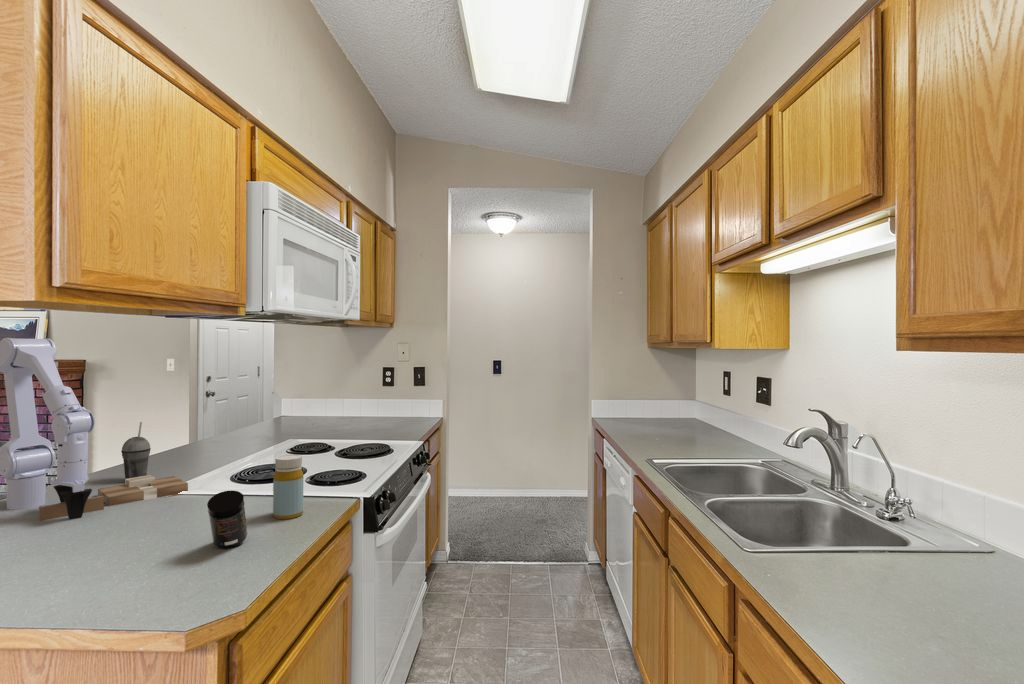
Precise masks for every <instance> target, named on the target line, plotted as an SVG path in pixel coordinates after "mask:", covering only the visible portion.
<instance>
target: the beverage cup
mask: <svg viewBox="0 0 1024 684" xmlns="http://www.w3.org/2000/svg"><path fill="white" fill-rule="evenodd" d="M142 426H143V422H142V421H140V422H139V427H138V428H139V429H138V435H137V436H133V437H130V438H128V439H127V440H126V441H125V442H124V443H123V445H122V447H121V456H122V459H123V469H124V480H125V479H129V478H135V477H141V476H147V474H148V465H149V458H150V453H151V450H152V448H151V445H150V442H149V441H148V440H147V439H146V438H145V437H142V436H141V431H142Z"/></svg>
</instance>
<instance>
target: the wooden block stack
mask: <svg viewBox="0 0 1024 684" xmlns="http://www.w3.org/2000/svg"><path fill="white" fill-rule="evenodd" d="M182 491H188V492H189V483H188V482H187V481H185V480H182V479H181V478H178V477H177V476H174V475H173V476H166V477H161V478H156V477H155V476H153V475H151V474H149V475H147V476H141V477H135V478H129V479H125V478H124V484H120V485H113V486H107V487H102V488H98V489H97V496H104V504H106V505H108V507H111V506H118V505H124V504H130V503H134V502H139V501H140V502H141V501H145V500H151V499H157V498H162V497H164V499H165V498H171V497H177V496H181V495H184V494H178V493H180V492H182Z"/></svg>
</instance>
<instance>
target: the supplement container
mask: <svg viewBox="0 0 1024 684" xmlns="http://www.w3.org/2000/svg"><path fill="white" fill-rule="evenodd" d="M207 513H208V517H209V524H210V525H209V526H210V530H211V537H212V544H213V545H214V546H215V547H216V548H217V549H221V550H222V549H223V550H224V549H225V550H226V549H232V548H235V547H238V546H240V545H241V544H242V543H243V542H244V541H245V540H246V539H247V536H248V526H247V517H246V508H245V498H244V495H243V493H241V492H240V491H238V490H224V491H221V492H219V493H217V494H215V495H213V496H211V497H210V498H209V500H208V502H207Z"/></svg>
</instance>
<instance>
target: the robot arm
mask: <svg viewBox="0 0 1024 684" xmlns="http://www.w3.org/2000/svg"><path fill="white" fill-rule="evenodd" d="M57 352H58V350H57V346H56V344H55V342H54V341H53V340H52V339H51V338H45V337H44V338H14V337H13V338H11V337H4V338H2V339H1V340H0V373H2V374H3V376H4V377H3V379H4V385H5V387H4V388H5V396H6V403H7V404H6V405H7V410H8V411H7V412H8V421H9V428H10V429H9V430H10V437H11V439H9V440H8V441H7V442H5V443H4V444H2V446H0V476H1V477H3V479H6V509H7V510H10V511H19V510H26V509H27V510H28V509H33V508H39V507H41V506H42V505H43V506H44V505H45V504H46V495H47V493H46V487H47V486H46V482H47V481H46V480H47V479H46V478H47V473H50V470H51V469H52V468H53V467H54V466H55V463H56V461H57V463H56V465H57V467H56V468H57V469H56V470H57V471H56V479H55V480H51V481H50V485H52V486H53V488H54V490H55V491H56V493H57V496H58V499H59V503H63V502H65V503H66V507H67V512H68V516H67V517H68V519H69V520H70V521H72V520H75V519H76V520H77V519H81V518H82V517H83V514H84V513H83V511H84V507H85V504H86V501H87V499H88V498H90V495H91V493H92V492H93V489H92V488H86V489H85V484H86V483H87V482H88V481H89V479H90V476H89V433H90V432H92V431H93V429H94V427H95V424H96V423H95V417H94V414H93V412H92V411H91V410H89V409H86V407H84V406H81V403H80V402H79V400H78V398H77V397H76V394H75V393H74V391H73V389H72V388H71V387H70V386H66V385H64V383H63V380H62V378H61V376H60V374H59V370H58V368H57V365H56V362H55V359H56V358H57ZM33 375H34V376H35V377H36V379H37V380H38V382H39V384H40V385H41V386H42V388H43V389H44V390H45V392H44V394H43V395H42V399H43V401H44V403H45V405H46V407H47V409H48V411H49V413H50V415H51V416H52V423H51V424H50V426H51V427H50V428H51V431H52V433H53V436H54V443H55V444H57V445H56V447H57V456H56V452H55V450H54V449H53V447H52V442H51V440H50V439H47V438H45V437H43V436H41V435H40V434H39V426H38V417H37V409H36V401H35V393H34V385H33ZM21 449H22V450H21ZM56 457H57V459H56Z"/></svg>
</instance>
